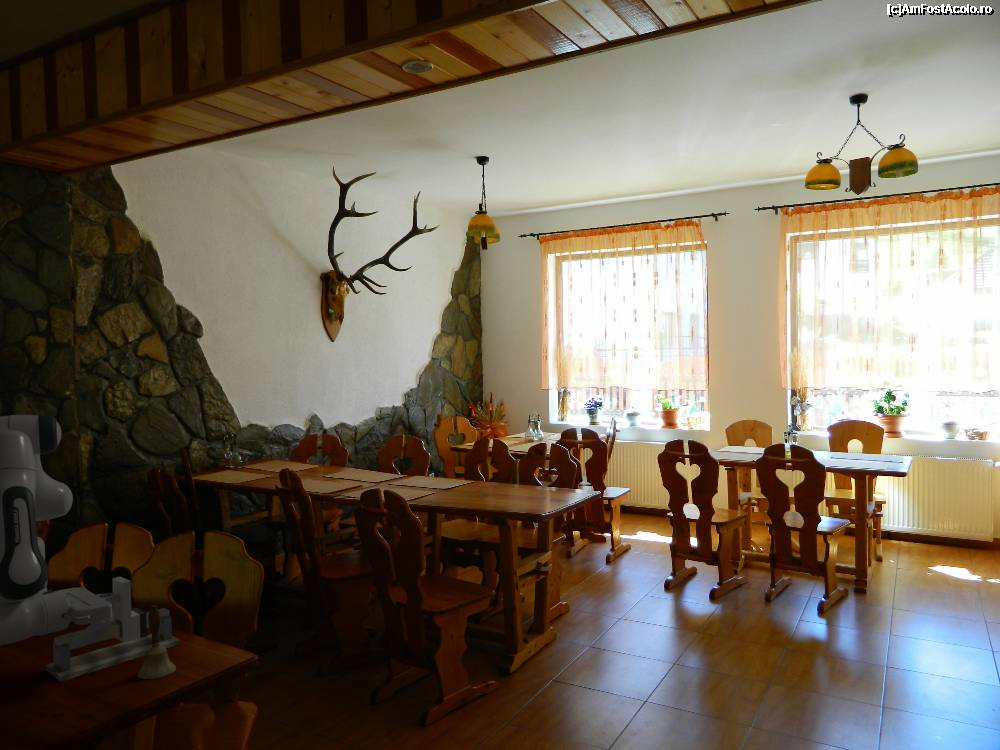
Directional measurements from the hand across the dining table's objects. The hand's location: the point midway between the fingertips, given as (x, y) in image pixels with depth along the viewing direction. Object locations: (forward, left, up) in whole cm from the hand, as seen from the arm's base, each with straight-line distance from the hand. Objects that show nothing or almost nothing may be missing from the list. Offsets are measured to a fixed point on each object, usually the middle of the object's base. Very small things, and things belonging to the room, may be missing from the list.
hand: (117, 596), depth 182 cm
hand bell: (+13, -11, -15) cm, 23 cm away
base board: (-1, -1, -15) cm, 15 cm away
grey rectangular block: (+2, +1, -11) cm, 11 cm away
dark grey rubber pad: (+3, +3, -11) cm, 12 cm away
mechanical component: (-11, +18, -15) cm, 26 cm away
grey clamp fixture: (-1, -1, -14) cm, 14 cm away
